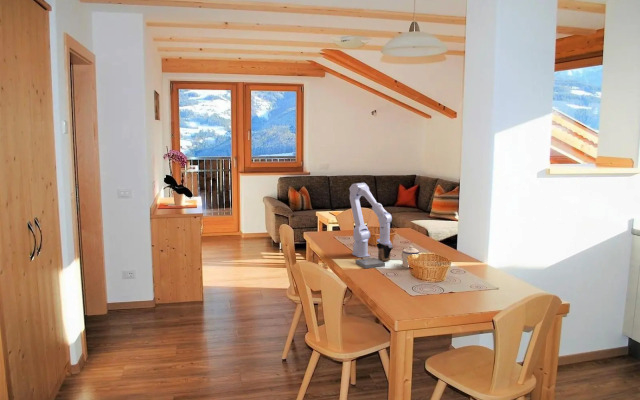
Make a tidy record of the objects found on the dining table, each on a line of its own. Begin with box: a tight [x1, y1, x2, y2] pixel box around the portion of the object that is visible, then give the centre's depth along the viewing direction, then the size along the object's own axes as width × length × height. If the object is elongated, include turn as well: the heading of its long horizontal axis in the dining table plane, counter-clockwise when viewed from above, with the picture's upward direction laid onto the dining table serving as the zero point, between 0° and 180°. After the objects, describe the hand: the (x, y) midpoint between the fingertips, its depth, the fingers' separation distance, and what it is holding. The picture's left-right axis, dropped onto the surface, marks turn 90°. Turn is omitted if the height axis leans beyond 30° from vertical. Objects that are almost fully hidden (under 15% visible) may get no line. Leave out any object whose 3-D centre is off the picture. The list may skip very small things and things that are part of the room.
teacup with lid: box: [401, 245, 420, 269], centre depth 275 cm, size 12×9×12 cm
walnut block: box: [377, 248, 391, 262], centre depth 286 cm, size 5×5×6 cm
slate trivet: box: [355, 257, 386, 269], centre depth 278 cm, size 12×12×2 cm
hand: (384, 257), depth 287 cm, fingers closed on walnut block, 5 cm apart
